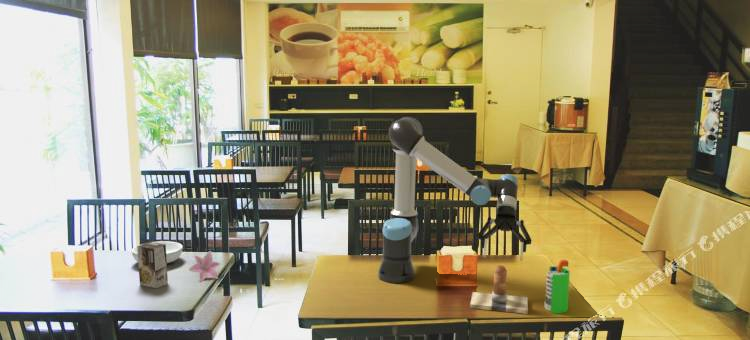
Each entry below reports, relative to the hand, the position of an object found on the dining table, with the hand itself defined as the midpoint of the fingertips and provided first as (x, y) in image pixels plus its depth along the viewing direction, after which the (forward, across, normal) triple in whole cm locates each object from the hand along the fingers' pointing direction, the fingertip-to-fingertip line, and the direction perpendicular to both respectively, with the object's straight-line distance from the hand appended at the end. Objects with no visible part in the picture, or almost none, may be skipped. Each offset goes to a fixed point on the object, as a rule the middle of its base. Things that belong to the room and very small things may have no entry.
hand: (502, 257), depth 217 cm
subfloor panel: (+18, 0, -3) cm, 18 cm away
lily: (+22, +117, -4) cm, 119 cm away
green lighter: (+16, -20, -4) cm, 26 cm away
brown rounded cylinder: (+17, 0, -2) cm, 17 cm away
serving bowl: (+14, +147, -12) cm, 148 cm away
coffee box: (+30, +133, +5) cm, 137 cm away
